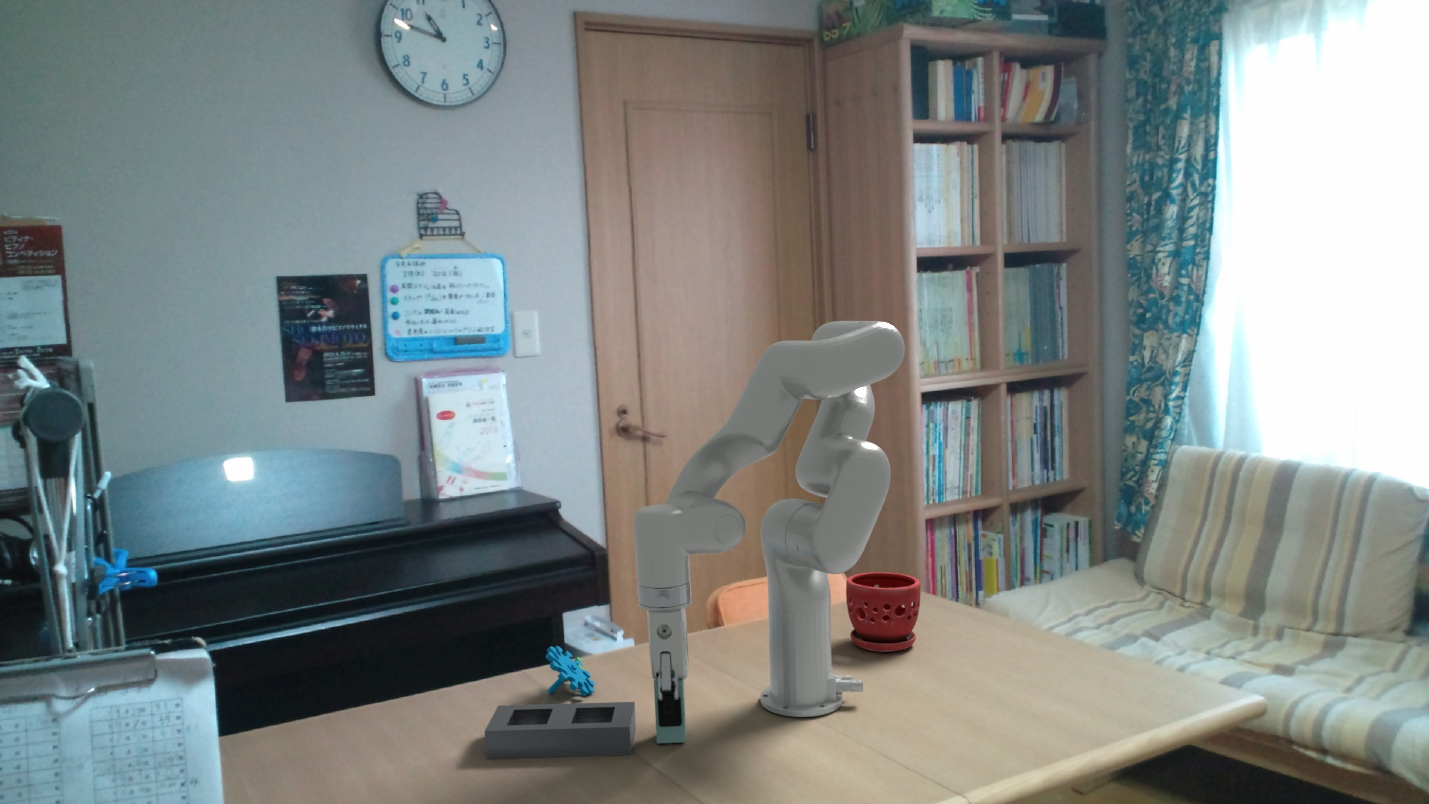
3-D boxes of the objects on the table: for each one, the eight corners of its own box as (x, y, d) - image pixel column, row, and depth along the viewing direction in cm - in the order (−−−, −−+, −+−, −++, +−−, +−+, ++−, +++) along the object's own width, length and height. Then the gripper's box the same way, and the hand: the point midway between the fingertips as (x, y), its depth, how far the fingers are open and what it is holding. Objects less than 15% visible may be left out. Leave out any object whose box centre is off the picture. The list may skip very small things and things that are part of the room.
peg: (686, 730, 149) (683, 670, 148) (685, 742, 145) (682, 680, 144) (658, 731, 149) (655, 671, 148) (656, 743, 145) (653, 681, 144)
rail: (635, 728, 151) (634, 701, 151) (630, 754, 142) (629, 726, 142) (499, 732, 151) (498, 705, 151) (486, 759, 142) (484, 731, 142)
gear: (588, 696, 160) (543, 649, 161) (562, 723, 160) (518, 676, 161) (605, 680, 171) (564, 636, 172) (581, 705, 171) (540, 661, 172)
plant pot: (927, 655, 178) (927, 587, 177) (851, 657, 178) (850, 589, 177) (914, 631, 191) (913, 568, 190) (843, 633, 191) (842, 570, 190)
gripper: (689, 610, 136) (696, 743, 138) (692, 576, 153) (698, 694, 155) (633, 613, 136) (640, 745, 138) (641, 578, 153) (648, 697, 155)
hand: (671, 717), depth 147 cm, fingers closed on peg, 3 cm apart
